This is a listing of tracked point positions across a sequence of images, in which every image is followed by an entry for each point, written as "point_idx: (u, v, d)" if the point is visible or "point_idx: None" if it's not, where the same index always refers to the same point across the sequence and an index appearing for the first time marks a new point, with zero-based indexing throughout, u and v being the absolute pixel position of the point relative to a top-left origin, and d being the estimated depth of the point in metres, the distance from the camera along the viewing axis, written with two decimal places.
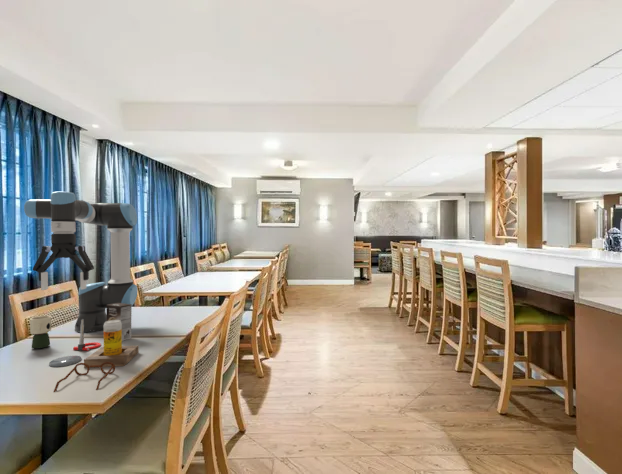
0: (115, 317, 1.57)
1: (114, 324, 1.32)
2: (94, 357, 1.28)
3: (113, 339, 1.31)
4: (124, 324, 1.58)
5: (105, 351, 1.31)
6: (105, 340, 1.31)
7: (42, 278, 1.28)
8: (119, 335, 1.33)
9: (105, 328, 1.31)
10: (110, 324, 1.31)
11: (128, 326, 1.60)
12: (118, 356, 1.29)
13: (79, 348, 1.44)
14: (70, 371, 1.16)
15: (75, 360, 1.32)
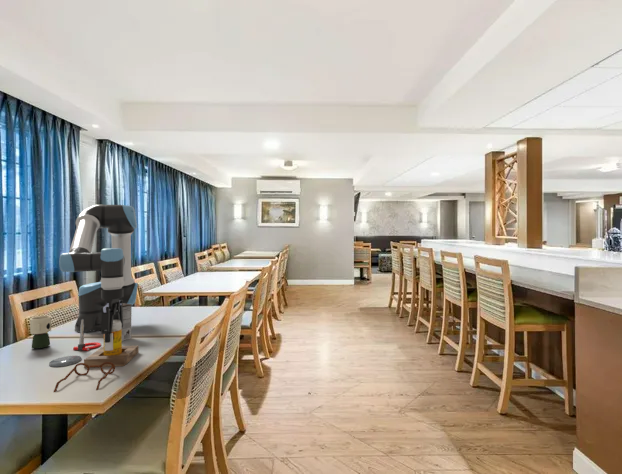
0: None
1: (114, 324, 1.32)
2: (94, 357, 1.28)
3: (113, 339, 1.31)
4: (124, 324, 1.58)
5: (105, 351, 1.31)
6: None
7: None
8: (119, 335, 1.33)
9: None
10: None
11: (128, 326, 1.60)
12: (118, 356, 1.29)
13: (79, 348, 1.44)
14: (70, 371, 1.16)
15: (75, 360, 1.32)
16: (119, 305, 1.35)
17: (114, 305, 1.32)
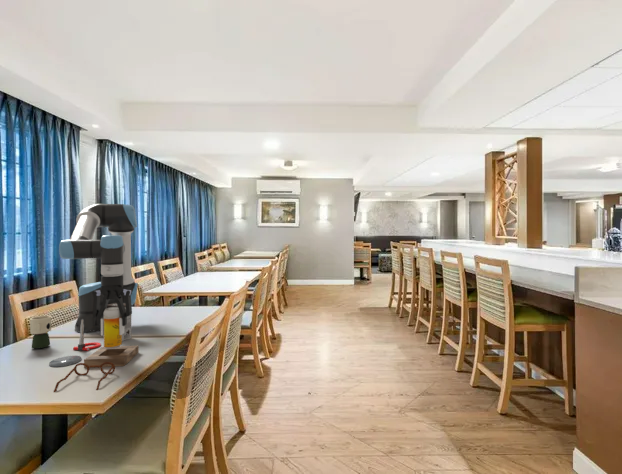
0: None
1: None
2: (94, 357, 1.28)
3: None
4: None
5: (118, 337, 1.33)
6: (118, 326, 1.33)
7: (102, 324, 1.32)
8: None
9: (118, 314, 1.33)
10: None
11: (128, 326, 1.60)
12: (118, 356, 1.29)
13: (79, 348, 1.44)
14: (70, 371, 1.16)
15: (75, 360, 1.32)
16: None
17: None
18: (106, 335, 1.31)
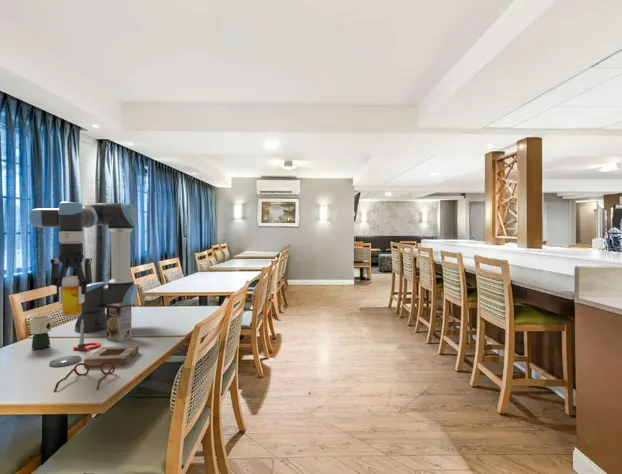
0: (115, 317, 1.57)
1: None
2: (94, 357, 1.28)
3: None
4: (124, 324, 1.58)
5: (77, 305, 1.31)
6: (77, 294, 1.31)
7: (60, 292, 1.30)
8: None
9: (77, 282, 1.31)
10: None
11: (128, 326, 1.60)
12: (118, 356, 1.29)
13: (79, 348, 1.44)
14: (70, 371, 1.16)
15: (75, 360, 1.32)
16: None
17: None
18: (65, 303, 1.29)
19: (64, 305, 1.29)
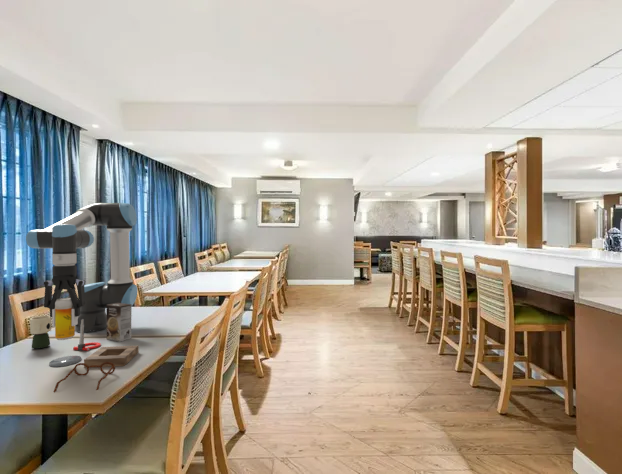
0: (115, 317, 1.57)
1: None
2: (94, 357, 1.28)
3: None
4: (124, 324, 1.58)
5: (69, 328, 1.30)
6: (70, 316, 1.30)
7: (53, 315, 1.30)
8: None
9: (70, 304, 1.30)
10: None
11: (128, 326, 1.60)
12: (118, 356, 1.29)
13: (79, 348, 1.44)
14: (70, 371, 1.16)
15: (75, 360, 1.32)
16: None
17: None
18: (57, 326, 1.28)
19: (57, 328, 1.28)
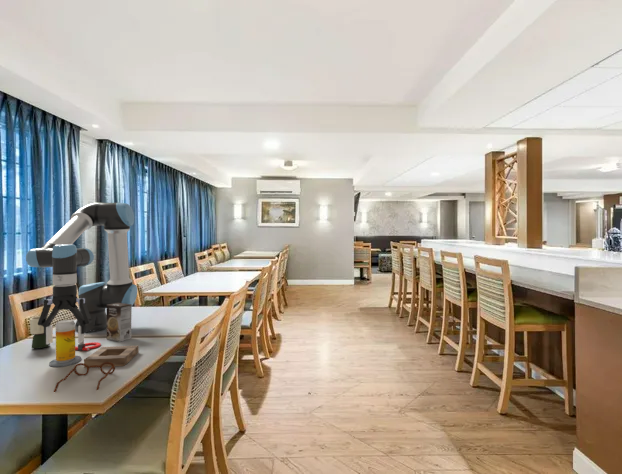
0: (115, 317, 1.57)
1: None
2: (94, 357, 1.28)
3: None
4: (124, 324, 1.58)
5: (70, 350, 1.30)
6: (70, 339, 1.30)
7: (47, 332, 1.30)
8: None
9: (70, 327, 1.30)
10: (73, 322, 1.32)
11: (128, 326, 1.60)
12: (118, 356, 1.29)
13: (79, 348, 1.44)
14: (70, 371, 1.16)
15: (75, 360, 1.32)
16: None
17: None
18: (58, 348, 1.29)
19: (57, 350, 1.29)
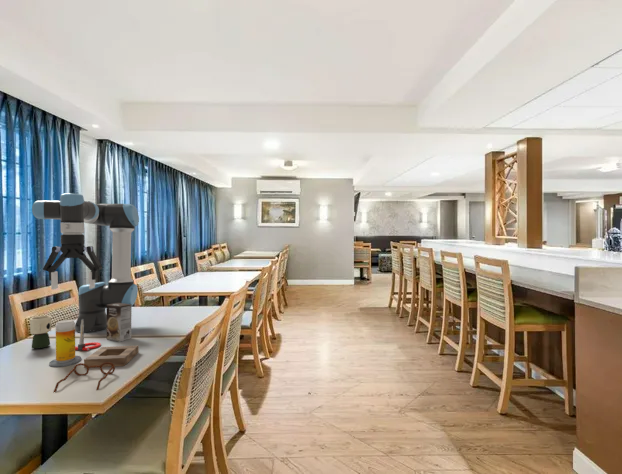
0: (115, 317, 1.57)
1: None
2: (94, 357, 1.28)
3: None
4: (124, 324, 1.58)
5: (70, 350, 1.30)
6: (70, 339, 1.30)
7: (52, 277, 1.32)
8: None
9: (70, 327, 1.30)
10: (73, 322, 1.32)
11: (128, 326, 1.60)
12: (118, 356, 1.29)
13: (79, 348, 1.44)
14: (70, 371, 1.16)
15: (75, 360, 1.32)
16: None
17: None
18: (58, 348, 1.29)
19: (57, 350, 1.29)
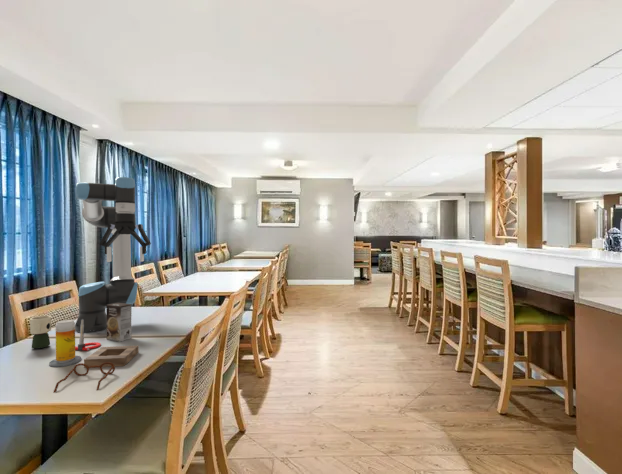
0: (115, 317, 1.57)
1: None
2: (94, 357, 1.28)
3: None
4: (124, 324, 1.58)
5: (70, 350, 1.30)
6: (70, 339, 1.30)
7: (108, 251, 1.49)
8: None
9: (70, 327, 1.30)
10: (73, 322, 1.32)
11: (128, 326, 1.60)
12: (118, 356, 1.29)
13: (79, 348, 1.44)
14: (69, 372, 1.16)
15: (75, 360, 1.32)
16: None
17: None
18: (58, 348, 1.29)
19: (57, 350, 1.29)
